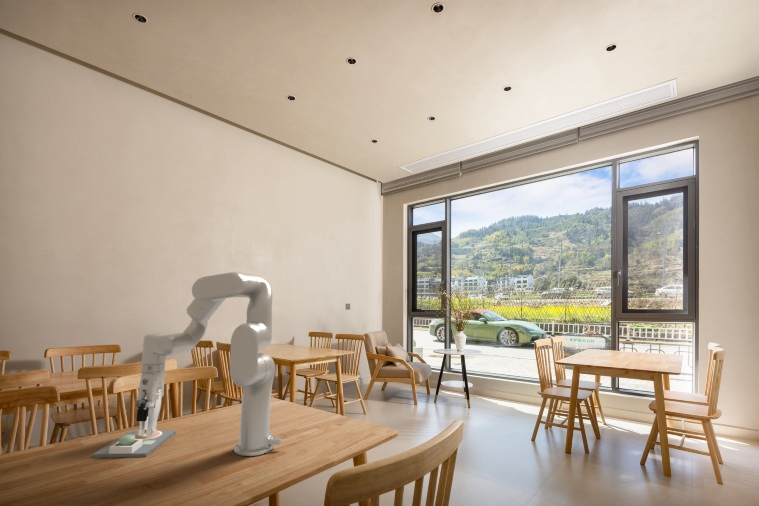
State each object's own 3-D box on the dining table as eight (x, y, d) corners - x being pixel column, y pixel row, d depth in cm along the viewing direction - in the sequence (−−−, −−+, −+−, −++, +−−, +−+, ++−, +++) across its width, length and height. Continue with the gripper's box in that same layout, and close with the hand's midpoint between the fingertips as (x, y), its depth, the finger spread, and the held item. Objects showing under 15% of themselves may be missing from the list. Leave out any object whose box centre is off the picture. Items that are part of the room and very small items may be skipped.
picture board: (175, 433, 146) (176, 424, 146) (146, 456, 124) (147, 446, 124) (130, 433, 144) (131, 425, 145) (92, 457, 122) (93, 447, 123)
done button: (137, 440, 129) (137, 434, 130) (130, 445, 125) (130, 438, 125) (123, 440, 129) (124, 434, 129) (115, 445, 125) (116, 439, 125)
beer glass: (148, 439, 136) (152, 394, 138) (131, 437, 137) (135, 393, 139) (162, 432, 143) (166, 390, 145) (146, 430, 144) (150, 388, 146)
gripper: (152, 372, 135) (147, 424, 133) (173, 364, 152) (169, 410, 150) (129, 372, 134) (124, 424, 132) (153, 364, 151) (149, 410, 149)
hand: (148, 416), depth 141 cm, fingers open, 9 cm apart
